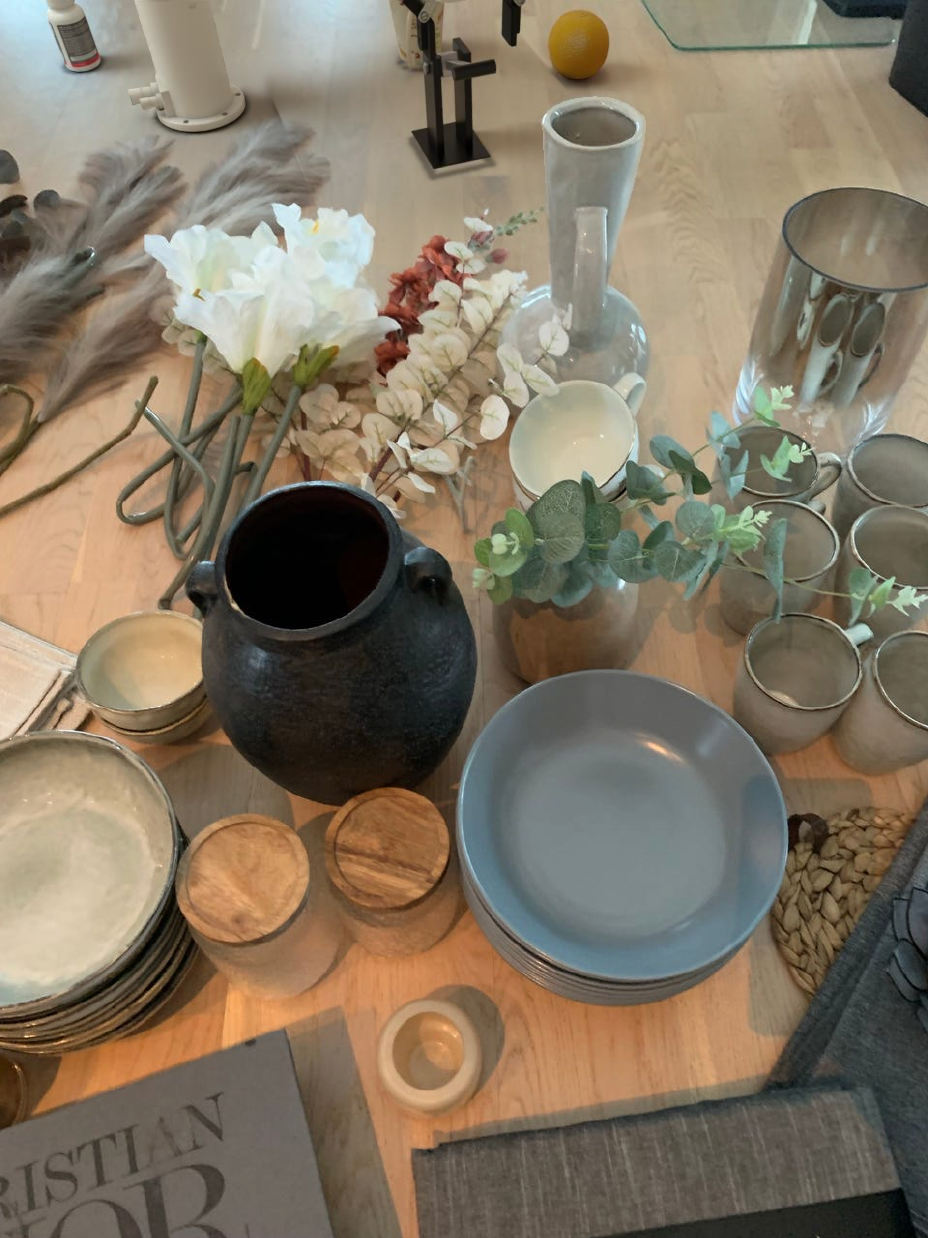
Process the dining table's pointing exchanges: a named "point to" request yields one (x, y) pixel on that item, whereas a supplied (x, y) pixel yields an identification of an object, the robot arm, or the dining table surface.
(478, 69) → the lever
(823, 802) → the dining table surface
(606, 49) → the fruit
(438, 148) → the black lever stand
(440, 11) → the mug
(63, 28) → the pill bottle
